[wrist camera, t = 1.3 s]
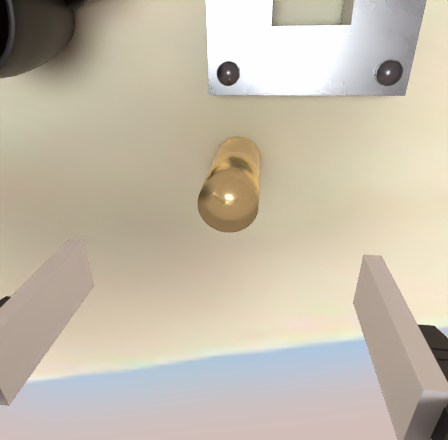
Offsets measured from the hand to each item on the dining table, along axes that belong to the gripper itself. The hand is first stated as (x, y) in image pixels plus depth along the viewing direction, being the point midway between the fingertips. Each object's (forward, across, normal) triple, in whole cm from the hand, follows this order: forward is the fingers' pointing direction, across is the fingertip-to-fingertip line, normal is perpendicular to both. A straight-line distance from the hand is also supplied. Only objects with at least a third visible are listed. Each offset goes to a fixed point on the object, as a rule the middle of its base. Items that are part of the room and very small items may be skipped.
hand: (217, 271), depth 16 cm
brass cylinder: (+17, 0, 0) cm, 17 cm away
